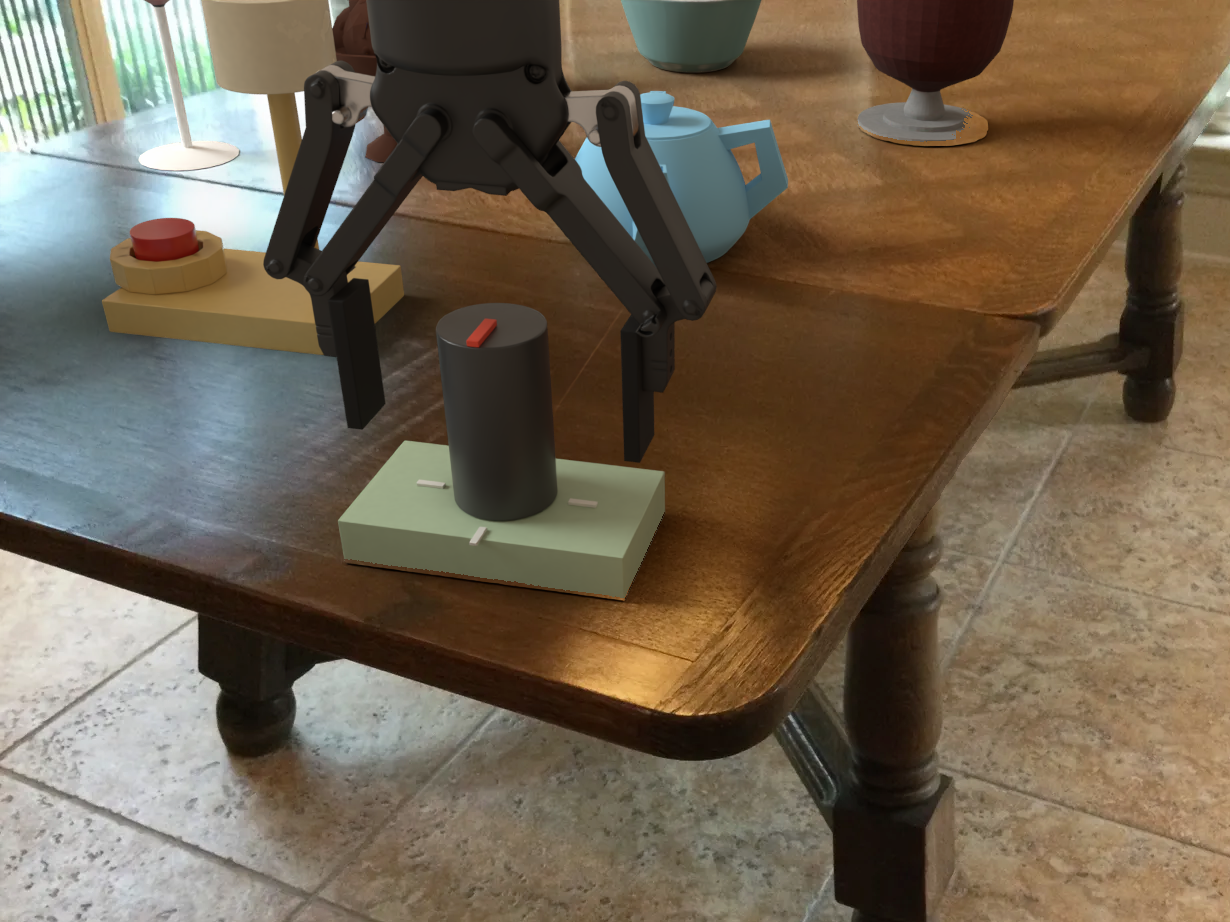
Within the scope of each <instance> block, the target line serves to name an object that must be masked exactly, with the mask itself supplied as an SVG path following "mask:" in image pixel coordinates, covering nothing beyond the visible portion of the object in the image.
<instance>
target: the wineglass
mask: <svg viewBox="0 0 1230 922" xmlns="http://www.w3.org/2000/svg"><path fill="white" fill-rule="evenodd" d="M143 1H144V2H146V3H148V4H150V5H151V6H152V7H153V11H154V15H155V20H156V25H157V26H156V27H157V30H158V34H159V39H160V45H161V49H162V54H163V55H162V56H163V59H164V64H165V69H166V73H167V79H168V84H169V88H170V93H171V98H172V103H173V107H174V112H175V113H174V114H175V118H176V122H177V126H178V133H179V137H180V142H172V143H171V142H170V143H168V144H164V145H160V146H156V147H153V148H150V149H148V150H146V151H144V152H143V153H142V154H140V156H138V157H139V158H138V162H139V163H140V165H142V166H144V167H147V168H148V169H155V170H159V171H173V172H174V171H175V172H177V171H193V170H200V169H206V168H207V169H208V168H212V167H214V166H219V165H223V164H226V163H228V162H230V161H232V160H234V159H235V158H236V157H238V156H239V154H240V149H239V148H238V147H237V146H236V145H234V144H231V143H229V142H223V141H216V140H192V135H191V131H190V130H191V129H190V125H189V120H188V116H187V111H186V106H185V101H184V96H183V91H182V87H181V81H180V77H179V71H178V66H177V62H176V57H175V52H174V47H173V42H172V36H171V31H170V27H169V23H168V21H169V20H168V17H167V12H166V7H165V6H166V4H167V3H168V2H169V1H170V0H143Z"/></svg>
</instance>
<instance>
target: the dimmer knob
mask: <svg viewBox="0 0 1230 922" xmlns="http://www.w3.org/2000/svg"><path fill="white" fill-rule="evenodd" d="M435 336H436V345H437V353H438V362H439V364H438V365H439V371H440V380H441V390H442V391H441V392H442V397H443V399H442V400H443V407H444V419H445V426H446V427H445V428H446V434H447V444H448V445H447V446H449V454H450V463H451V472H452V481H453V490H454V498H455V502H456V504H457V505H458V506H459V508H460V509H461V510H462V511H464V512H465V513H467V514H469V515H471V516H474V517H477V518H480V519H485V520H493V521H509V520H517V519H522V518H526V517H529V516H532V515H535V514H537V513H539V512H541V511H543V510H545V509H546V508H547V507H549V506H550V505H551V504H552V503H553V501H554V500H555V498H556V496H557V492H558V490H557V473H556V459H557V458H556V457H557V456H556V441H555V425H554V410H553V409H554V407H553V393H552V377H551V376H552V375H551V360H550V346H549V345H550V344H549V328H548V321H547V318H546V317H545V316H544V315H543V313H541V312H540V311H538V310H536V309H534V308H532V307H529V306H525V305H522V304H517V303H507V302H487V303H478V304H472V305H467V306H464V307H460V308H458V309H455V310H453V311H452V310H451V312H448V313H447V314H445V315H444V316H442V317H441V318H440V319H439V320H438V322H437V324H436V327H435Z"/></svg>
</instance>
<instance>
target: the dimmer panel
mask: <svg viewBox="0 0 1230 922" xmlns="http://www.w3.org/2000/svg"><path fill="white" fill-rule="evenodd" d="M556 473H557V490H558V492H557V496H556V498H555V500H554V501H553V503H552V504H551V505H550V506H549V507H547V508H546V509H545V510H543V511H541V512H539V513H537V514H535V515H532V516H529V517H526V518H522V519H517V520H509V521H493V520H485V519H480V518H477V517H474V516H471V515H469V514H467V513H465V512H464V511H462V510H461V509H460V508H459V506H458V505H457V504H456V502H455V498H454V490H453V481H452V472H451V463H450V454H449V445H446V444H437V443H431V442H423V441H422V442H421V441H414V440H413V441H412V440H404V441H403V442H402V443H401V444H400V445H399V446H398V447H397V448H396V450H395V451H394V453H392V455H391V456H390V457H389V458H388V460H386V462H385V463H384V464H383V466H382V467H381V468H380V469H379V470H378V472H377V473H376V474H375V475H374V476H373V477H372V479H371V480H370V481H369V483H367V485H366V486H365V487H364V488H363V490H362V491H360V493H359V494H358V496H357V497H356V498H355V499H354V500H353V502H352V503H351V504H350V505H349V507H347V509H346V510H345V511H344V512H343V514H342V515H341V516H340V517H339V519H338V520H337V523H338V529H339V535H340V542H341V548H342V553H343V560H344V559H348V560H350V559H352V560H357V561H358V560H359V561H364V562H370V563H371V562H372V563H373V564H375V563H377V564H383V565H388V566H391V565H392V566H398V567H401V566H402V567H407V568H413V569H415V568H417V569H423V570H425V569H427V570H429V571H430V570H433V571H439V572H441V571H443V572H445V573H446V572H449V573H455V574H461V575H463V574H464V575H468V576H474V577H480V578H487V579H493V580H494V579H498V580H504V581H506V582H507V581H511V582H514V581H516V582H518V583H525V584H527V585H530V584H532V585H534V586H538V585H539V586H541V587H548V588H555V589H563V590H565V591H566V590H570V591H578V592H586V593H594V594H602V595H609V596H612V597H615V596H616V597H620V598H625V596H626V594H627V591H628V589H629V587H630V585H631V583H632V581H633V579H634V577H635V575H636V573H637V571H638V572H639V570H638V568H639V567H640V568H641V566H642V564H641V562H642V561H643V562H644V560H643V558H644V559H645V557H646V555H645V553H646V552H647V553H648V551H647V549H648V547H649V545H650V546H651V544H650V542H651V541H652V542H653V540H652V538H653V536H654V533H655V531H656V530H657V531H658V529H657V527H658V525H659V523H660V521H661V522H662V520H663V518H662V516H663V514H664V512H665V513H666V481H665V480H666V479H665V478H666V477H665V476H666V472H665V471H663V470H655V469H645V468H640V467H639V468H637V467H630V466H621V465H615V464H607V463H606V464H605V463H597V462H589V461H581V460H580V461H579V460H571V459H570V460H569V459H563V458H556ZM664 515H665V514H664ZM663 517H664V516H663ZM661 519H662V520H661ZM660 524H661V523H660ZM659 526H660V525H659ZM658 528H659V527H658ZM657 531H656V532H657ZM655 534H656V533H655ZM654 537H655V536H654ZM653 539H654V538H653ZM652 542H651V543H652ZM649 548H650V547H649ZM648 550H649V549H648ZM647 553H646V554H647ZM644 556H645V557H644ZM643 562H642V563H643ZM640 565H641V566H640ZM640 568H639V569H640ZM637 574H638V573H637ZM636 576H637V575H636ZM635 578H636V577H635ZM634 580H635V579H634ZM633 582H634V581H633ZM627 595H628V594H627Z"/></svg>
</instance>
